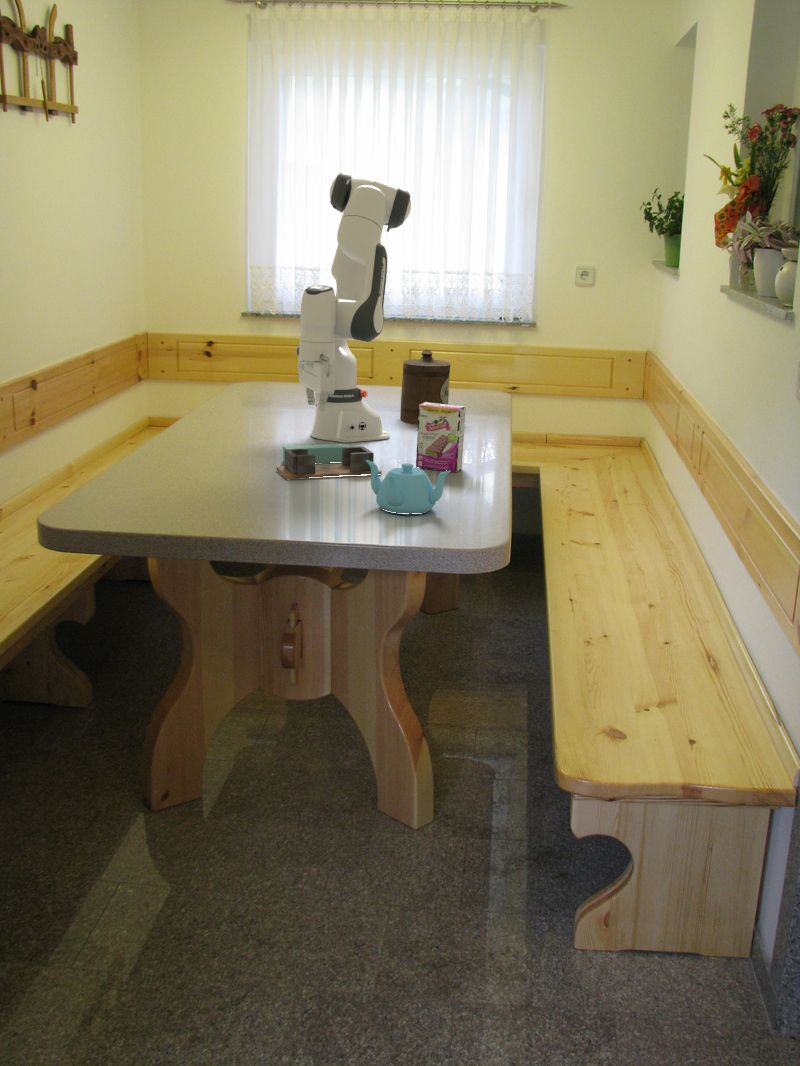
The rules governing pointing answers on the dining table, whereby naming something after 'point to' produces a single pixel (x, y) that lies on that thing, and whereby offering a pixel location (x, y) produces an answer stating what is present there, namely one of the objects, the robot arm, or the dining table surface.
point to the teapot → (406, 489)
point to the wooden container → (423, 385)
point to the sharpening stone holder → (304, 464)
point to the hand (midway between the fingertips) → (315, 407)
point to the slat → (321, 452)
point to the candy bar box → (440, 436)
